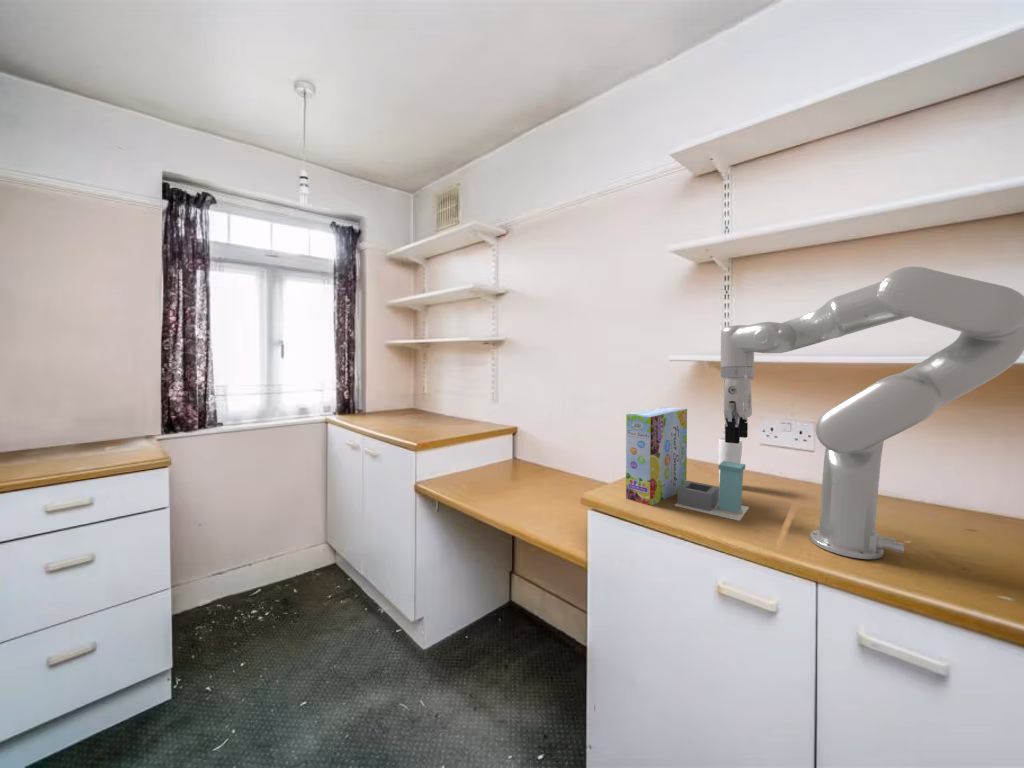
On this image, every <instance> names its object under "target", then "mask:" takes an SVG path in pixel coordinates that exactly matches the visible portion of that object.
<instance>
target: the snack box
mask: <svg viewBox="0 0 1024 768" xmlns="http://www.w3.org/2000/svg"><path fill="white" fill-rule="evenodd" d="M625 417H626V418H625V422H626V427H625V428H626V429H625V430H626V431H625V433H626V435H625V436H626V437H625V438H626V439H625V440H626V441H625V443H626V445H625V446H626V447H625V465H626V466H625V499H626V500H630V501H632V502H636V503H639V504H643V505H647V506H654V505H656V504H658V503H660V502H662V501H664V500H666V499H668V498H670V497H673V496H675V495H678V487H680V486H681V485H682V484H684V483H685V482H686V481H687V473H688V472H687V466H688V464H687V463H688V462H687V461H688V460H687V459H688V458H687V457H688V456H687V455H688V454H687V453H688V450H687V449H688V448H687V447H688V445H687V444H688V408H683V407H671V406H662V407H661V406H660V407H656V408H650V409H645V410H641V411H637V412H636V411H635V412H631V413H627V414H626V416H625Z"/></svg>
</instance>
